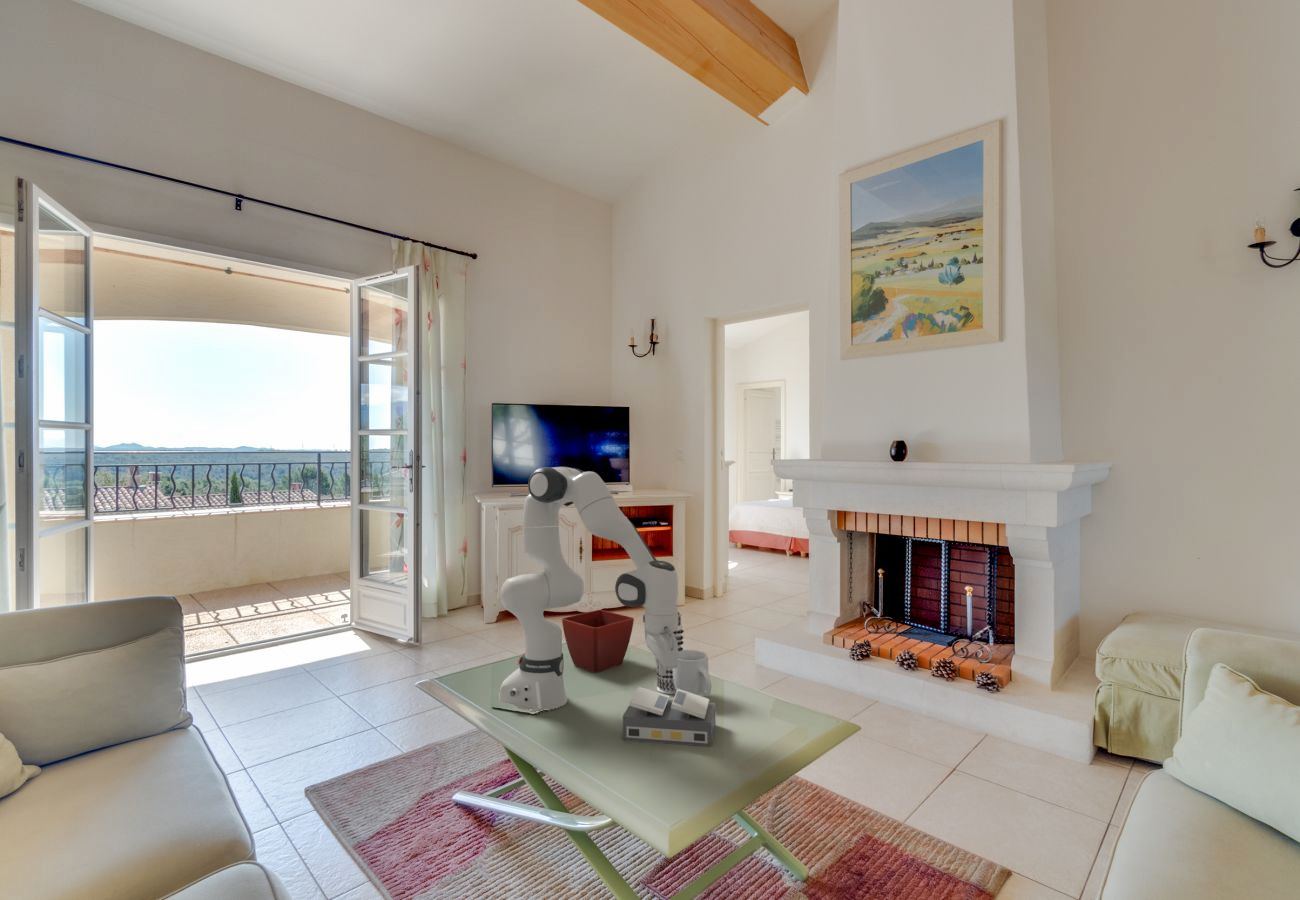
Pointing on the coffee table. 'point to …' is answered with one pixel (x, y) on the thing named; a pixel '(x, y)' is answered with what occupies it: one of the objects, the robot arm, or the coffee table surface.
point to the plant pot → (597, 639)
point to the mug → (692, 673)
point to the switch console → (669, 726)
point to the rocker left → (649, 701)
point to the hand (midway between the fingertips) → (661, 673)
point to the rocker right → (690, 703)
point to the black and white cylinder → (667, 681)
